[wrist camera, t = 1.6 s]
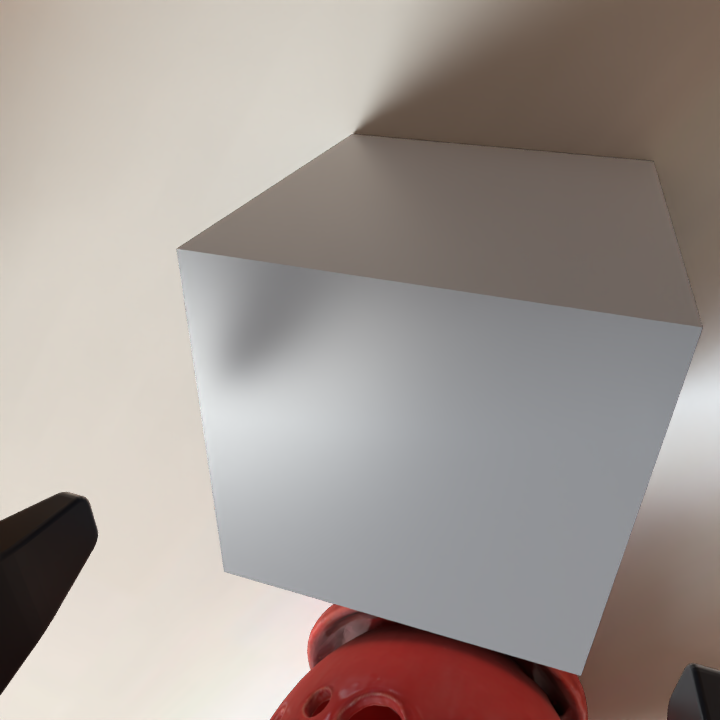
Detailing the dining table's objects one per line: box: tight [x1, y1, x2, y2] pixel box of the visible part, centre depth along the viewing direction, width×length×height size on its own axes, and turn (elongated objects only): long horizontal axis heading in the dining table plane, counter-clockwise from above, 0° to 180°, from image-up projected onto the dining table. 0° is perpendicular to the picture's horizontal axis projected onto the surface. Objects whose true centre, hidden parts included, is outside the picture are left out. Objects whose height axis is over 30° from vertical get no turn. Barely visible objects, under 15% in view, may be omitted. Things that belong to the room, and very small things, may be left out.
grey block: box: [177, 134, 703, 676], centre depth 15 cm, size 8×8×9 cm
